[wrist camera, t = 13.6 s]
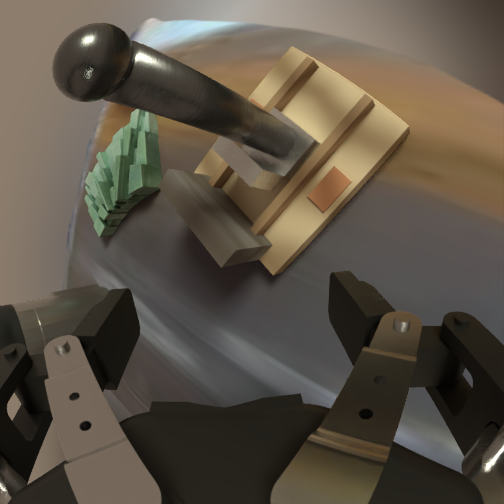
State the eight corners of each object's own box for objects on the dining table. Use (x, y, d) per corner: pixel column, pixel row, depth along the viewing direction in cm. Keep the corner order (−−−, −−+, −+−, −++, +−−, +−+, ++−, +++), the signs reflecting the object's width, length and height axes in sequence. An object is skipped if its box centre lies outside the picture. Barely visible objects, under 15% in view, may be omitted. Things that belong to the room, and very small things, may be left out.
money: (125, 255, 43) (99, 258, 39) (89, 187, 48) (67, 187, 44) (194, 144, 35) (165, 137, 30) (141, 89, 39) (117, 81, 35)
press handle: (283, 113, 26) (71, 2, 8) (322, 145, 24) (98, 16, 6) (247, 159, 28) (21, 106, 10) (282, 192, 27) (32, 159, 8)
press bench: (299, 54, 26) (262, 15, 19) (409, 132, 22) (405, 97, 15) (201, 180, 34) (148, 173, 27) (282, 272, 30) (237, 287, 23)
